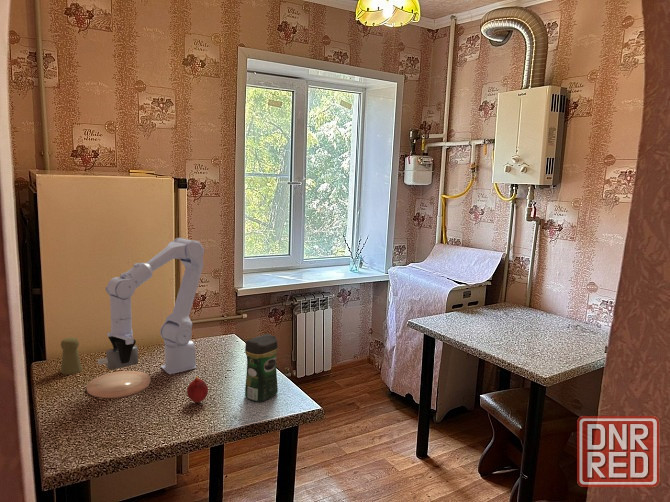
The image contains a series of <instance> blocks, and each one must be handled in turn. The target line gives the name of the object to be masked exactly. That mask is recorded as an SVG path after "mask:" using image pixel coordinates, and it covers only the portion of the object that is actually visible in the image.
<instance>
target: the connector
mask: <svg viewBox="0 0 670 502" xmlns="http://www.w3.org/2000/svg"><path fill="white" fill-rule="evenodd" d="M105 353H106V354H105V357H102V358H97V365H99V366H100V365H101V366H102V365H105V364H106V369H108V370H118V369H121V368H126V367H131V366H134V365H137V364H138V363H139V347H138V345H136V344H135V345H134V347H133V349H132V352H131V356H130V360H129V362H128V363H123V364H122V363H121V360H120V355H119V351H118V348H110V349H108V350H106V352H105Z"/></svg>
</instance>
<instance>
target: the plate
mask: <svg viewBox="0 0 670 502" xmlns="http://www.w3.org/2000/svg"><path fill="white" fill-rule="evenodd" d="M150 385H151V377H150V375H149V374H147V373H146V372H143V371H137V370H122V371H121V370H120V371H114V372H109V373H105V374H102V375H100V376H98V377H94V378H93V379H91V380H90V381H89V382H88V383H87V385H86V393H88V394H89V396H92V397H95V398H99V399H118V398H125V397H129V396H133V395H135V394H138V393H141V392H142V391H144V390H146V389H147V388H149V386H150Z"/></svg>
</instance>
